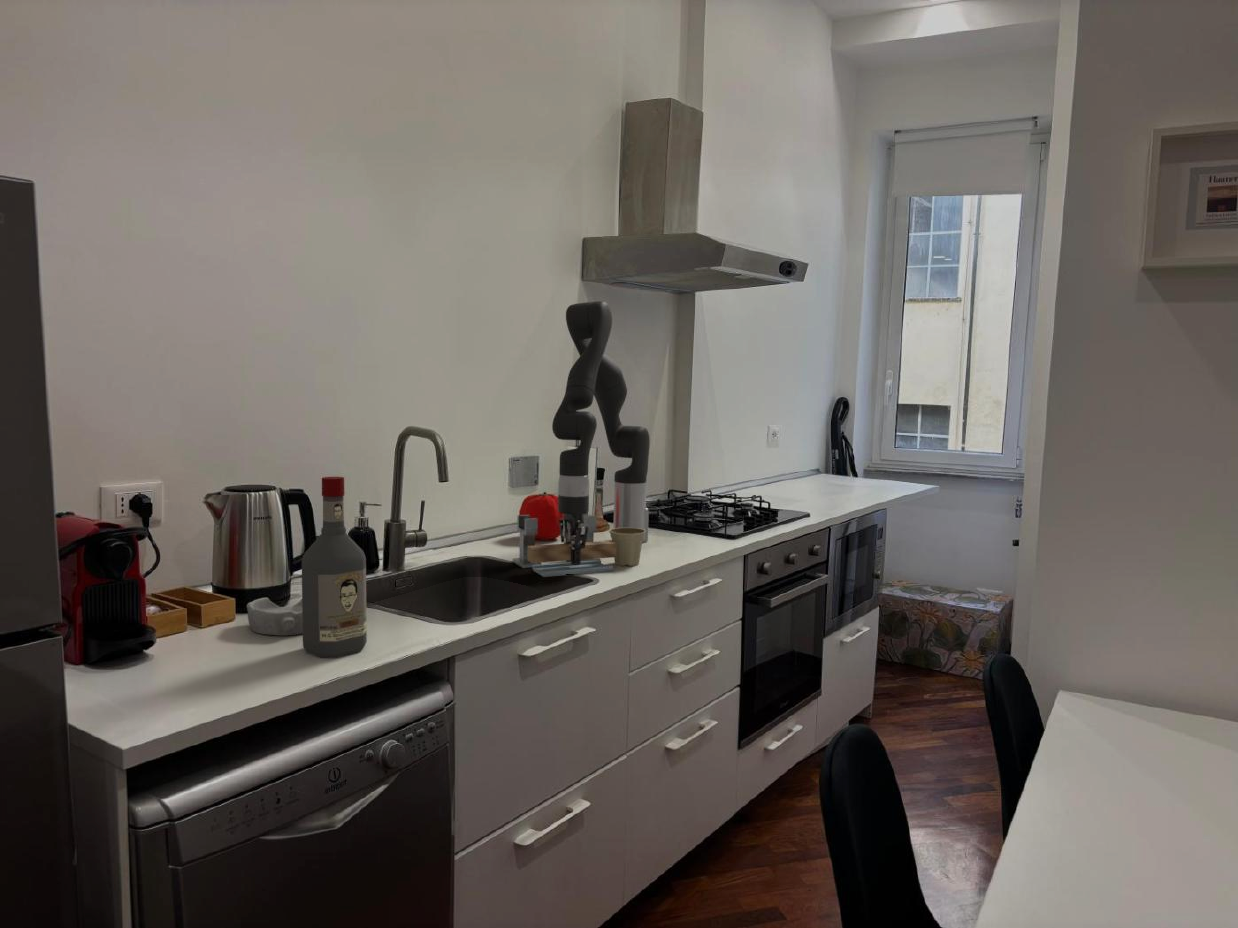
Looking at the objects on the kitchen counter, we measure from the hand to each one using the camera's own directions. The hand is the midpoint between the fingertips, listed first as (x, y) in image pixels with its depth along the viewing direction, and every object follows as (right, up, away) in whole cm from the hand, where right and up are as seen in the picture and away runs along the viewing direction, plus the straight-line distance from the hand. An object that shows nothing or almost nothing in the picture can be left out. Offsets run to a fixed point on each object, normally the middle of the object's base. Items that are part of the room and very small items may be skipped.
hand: (572, 562), depth 225 cm
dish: (-50, -7, -52) cm, 73 cm away
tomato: (-11, +2, +42) cm, 44 cm away
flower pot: (+13, -1, +10) cm, 17 cm away
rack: (-5, -1, +10) cm, 11 cm away
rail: (0, +1, 0) cm, 1 cm away
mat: (0, -2, 0) cm, 2 cm away
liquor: (-38, -8, -65) cm, 76 cm away
